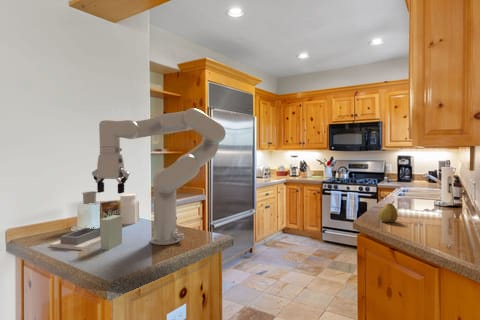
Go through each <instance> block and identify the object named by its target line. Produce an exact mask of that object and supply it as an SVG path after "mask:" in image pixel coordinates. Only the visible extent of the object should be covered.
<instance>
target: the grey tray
mask: <svg viewBox="0 0 480 320" xmlns="http://www.w3.org/2000/svg"><path fill="white" fill-rule="evenodd" d="M59 237H60V239H59V240H57V241H54V242H51V243H49V247H50V248H59V249H69V250H78V251H79V250H80V251H84V250H86V249H89V248H90V247H94V246H96V245H97V244H99V243H100V244H101V235H100V228H91V229H90V228H85V227H83V228H80V229H78V230H75V231H72V232H69V233H66V234H63V235H60V236H59Z"/></svg>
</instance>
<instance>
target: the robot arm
mask: <svg viewBox="0 0 480 320" xmlns="http://www.w3.org/2000/svg"><path fill="white" fill-rule="evenodd" d="M98 126H99V128H98V131H99V134H98V135H99V154H98V158H97V165H96V169H95V170H93V171H92V172H91V175H92V177H93V179H94V180H95V183H96V184H97V186H96V187H97V188H96V189H97V191H96V192H97V194H98V193H99V194H100V193H104V192H105V182H104V180H110V179H111V180H116V181H117V182H118V183H117V194H120V195H121V194H125V184H126V182H127V181H128V179H129V176H130V173H131V172H130V171H128V170H126V169H125V164H124V158H123V155H122V154H121V152H122V150H123V149H122V148H121V147H120V146H121V145H120V144H121V143H120V141H121V140H120V139H122V138H123V139H127V140H135V139H140V138H147V137H152V136H153V137H154V136H161V135H162V136H163V135H168V134H174V133H180V132H184V131H191V130H193V131H195V132H196V133H198V134H199V135H201V136H202V138H201V139H202V140H201V142H200V143H199V144H198V145H197V146H195V148H193V149H191V150H189V152H187V153H185V154H183V155H181V156H180V157H179V158H177V159H176V161H175V162H174V163H172V164H171V165H169V166H167V167H165V168H160V169H158V170H157V171H156V172H155V173H154V176H153V179H152V184H153V235H154V236H152V237H150V240H149V241H150V243H151V244H152V245H157V246H167V245H173V244H176V243H178V242H180V240H184V239H185V237H186V236H185V233H184V232H180V231H179V230H180V229H178V228H177V190H178V189H179V188H181V187H182V186H184V185H185V184H187V183H189V182H190V181H191V180H193V179H194V178H196V176H197V175H198V174H199V173H200V170H201V168H202V167H203V166H204V165H206V164H207V163H209V162H210V161H211V160H212V159H213V158H214V157H215V156H216V154H217V153H218V149H219V146H220V142H223V141H224V140H225V138H226V129H225V127H224V125H222V124H221V123H220V122H218V121H216V120H215V119H213V118H212V117H210V115H207V114H206V113H205V112H204V111H202V110H200V109H197V108H194V107H193V108H192V107H191V108H188V109H187V110H183V111H178V112H177V111H176V112H171V113H162V114H158V115H157V116H153V117H150V118H148V119H142V120H136V121H135V120H130V119H124V120H109V119H108V120H100V122H99V124H98Z"/></svg>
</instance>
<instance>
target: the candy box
mask: <svg viewBox="0 0 480 320" xmlns="http://www.w3.org/2000/svg"><path fill="white" fill-rule="evenodd" d="M112 215H120V216H121V201H120V199H117V200H116V199H114V200H101V201H99V220H100V219H103V218H106V217H109V216H112Z"/></svg>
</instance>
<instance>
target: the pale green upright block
mask: <svg viewBox="0 0 480 320" xmlns="http://www.w3.org/2000/svg"><path fill="white" fill-rule="evenodd" d="M99 229H100V235H101V242H100V250H104V251H105V250H106V251H107V250H108V251H110V250H113V249H114V248H116V247H117V246H120V245H122V244H123V224H122V216H120V215H112V216H109V217H106V218H103V219H100V218H99Z"/></svg>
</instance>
